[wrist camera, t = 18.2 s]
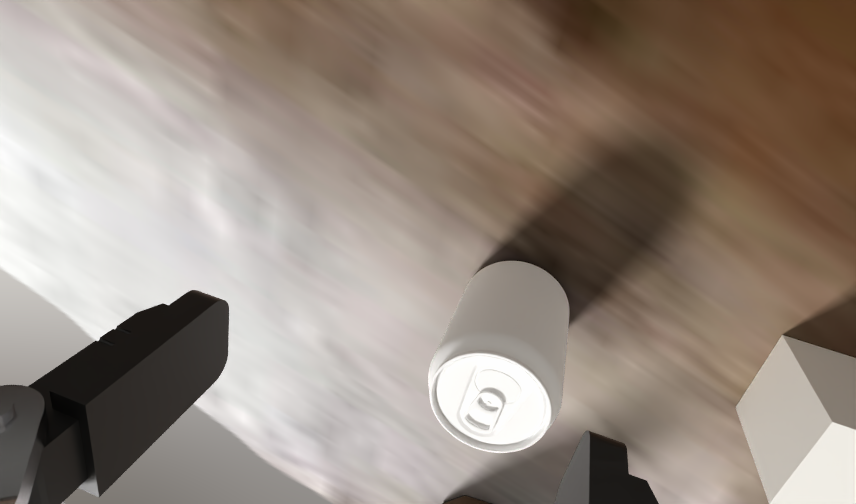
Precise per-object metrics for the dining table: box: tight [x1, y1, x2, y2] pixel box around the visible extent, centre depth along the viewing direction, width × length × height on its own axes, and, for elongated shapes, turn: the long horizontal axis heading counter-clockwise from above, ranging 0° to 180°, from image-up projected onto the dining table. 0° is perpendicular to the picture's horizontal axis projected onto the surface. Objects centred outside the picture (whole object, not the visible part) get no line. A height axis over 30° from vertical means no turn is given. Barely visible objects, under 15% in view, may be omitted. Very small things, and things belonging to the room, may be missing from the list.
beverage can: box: [428, 261, 569, 453], centre depth 36 cm, size 8×8×12 cm
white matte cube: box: [736, 335, 856, 504], centre depth 33 cm, size 7×7×9 cm
